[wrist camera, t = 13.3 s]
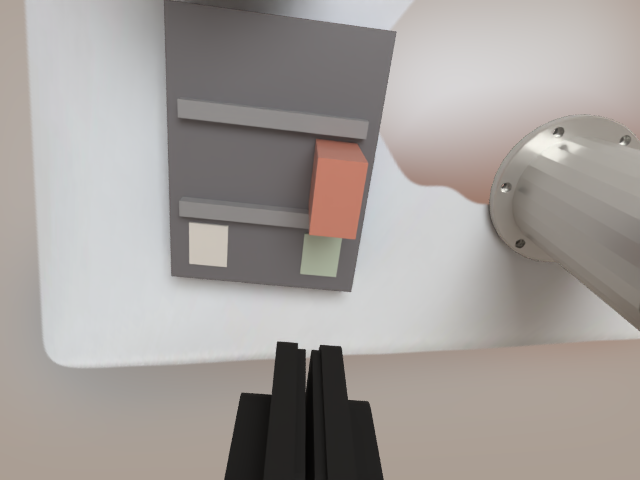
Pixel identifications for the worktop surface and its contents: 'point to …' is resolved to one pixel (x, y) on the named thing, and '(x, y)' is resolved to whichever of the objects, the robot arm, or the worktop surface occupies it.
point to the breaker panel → (264, 139)
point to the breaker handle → (336, 189)
